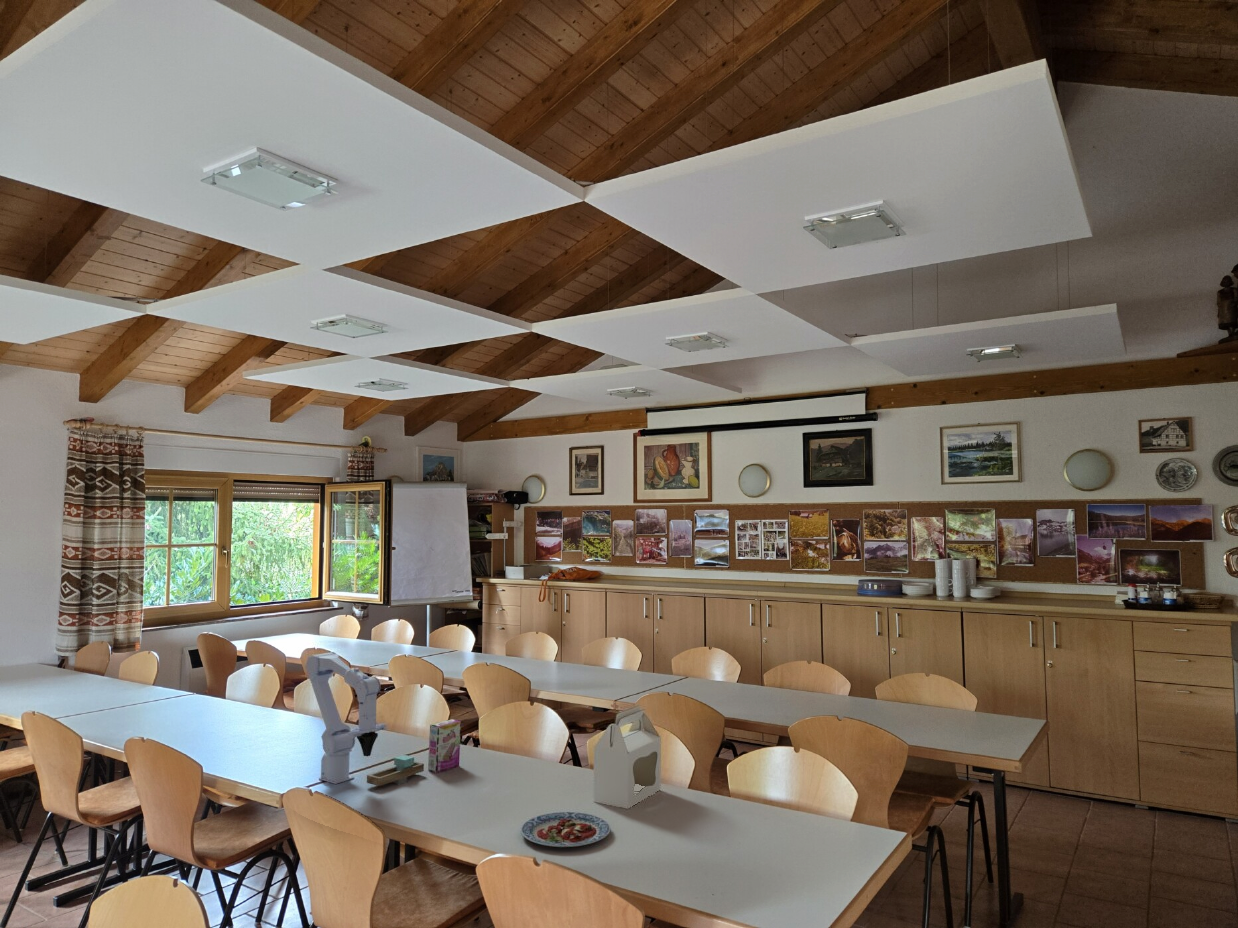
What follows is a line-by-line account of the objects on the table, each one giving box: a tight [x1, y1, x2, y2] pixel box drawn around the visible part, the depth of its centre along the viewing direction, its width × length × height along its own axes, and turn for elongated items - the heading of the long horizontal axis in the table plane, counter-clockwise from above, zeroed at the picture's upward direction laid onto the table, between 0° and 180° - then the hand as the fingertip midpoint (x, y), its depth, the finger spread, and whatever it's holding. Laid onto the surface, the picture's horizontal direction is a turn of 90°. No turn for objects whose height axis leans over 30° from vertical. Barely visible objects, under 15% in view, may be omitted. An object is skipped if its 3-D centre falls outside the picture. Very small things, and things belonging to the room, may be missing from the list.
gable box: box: [592, 704, 662, 810], centre depth 266 cm, size 22×13×28 cm, turn 149°
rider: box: [393, 754, 415, 772], centre depth 281 cm, size 5×4×5 cm
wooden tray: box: [366, 761, 425, 787], centre depth 278 cm, size 7×20×4 cm, turn 147°
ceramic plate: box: [520, 811, 611, 848], centre depth 232 cm, size 26×26×3 cm
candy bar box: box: [427, 718, 462, 774], centre depth 293 cm, size 11×5×16 cm, turn 144°
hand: (366, 755), depth 272 cm, fingers closed
